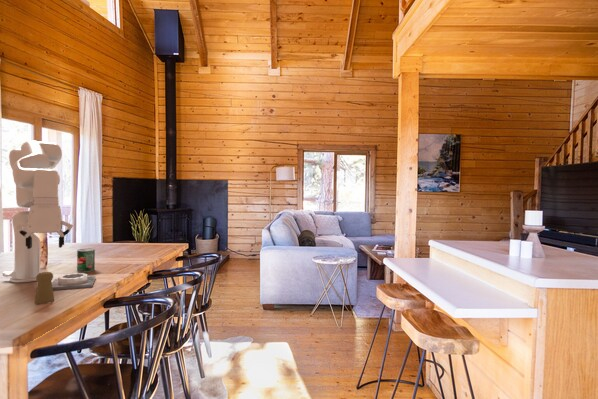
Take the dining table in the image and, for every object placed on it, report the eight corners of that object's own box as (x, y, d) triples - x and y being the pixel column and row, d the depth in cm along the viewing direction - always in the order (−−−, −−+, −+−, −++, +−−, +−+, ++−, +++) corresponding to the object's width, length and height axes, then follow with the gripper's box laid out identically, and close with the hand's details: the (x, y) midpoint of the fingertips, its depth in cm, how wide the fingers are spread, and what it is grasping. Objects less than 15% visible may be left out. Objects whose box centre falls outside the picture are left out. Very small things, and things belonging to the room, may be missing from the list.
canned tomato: (97, 269, 188) (98, 248, 187) (88, 272, 180) (88, 251, 180) (83, 268, 188) (83, 248, 188) (73, 272, 180) (73, 250, 180)
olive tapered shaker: (57, 299, 136) (58, 270, 136) (47, 304, 130) (47, 274, 130) (41, 298, 136) (42, 270, 136) (30, 303, 130) (30, 274, 130)
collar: (47, 290, 147) (47, 281, 147) (55, 281, 161) (55, 273, 161) (91, 287, 154) (91, 278, 154) (95, 278, 168) (95, 270, 168)
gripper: (14, 202, 126) (13, 250, 126) (71, 202, 133) (70, 248, 133) (20, 201, 132) (19, 247, 133) (74, 202, 140) (73, 245, 140)
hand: (45, 247), depth 133 cm, fingers open, 9 cm apart
